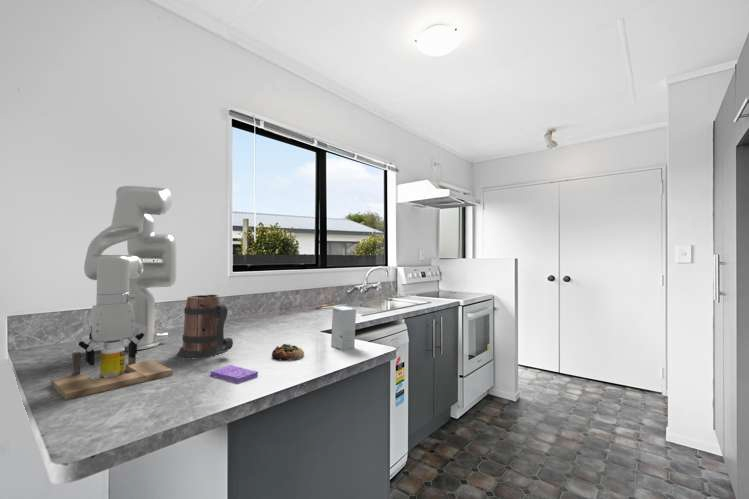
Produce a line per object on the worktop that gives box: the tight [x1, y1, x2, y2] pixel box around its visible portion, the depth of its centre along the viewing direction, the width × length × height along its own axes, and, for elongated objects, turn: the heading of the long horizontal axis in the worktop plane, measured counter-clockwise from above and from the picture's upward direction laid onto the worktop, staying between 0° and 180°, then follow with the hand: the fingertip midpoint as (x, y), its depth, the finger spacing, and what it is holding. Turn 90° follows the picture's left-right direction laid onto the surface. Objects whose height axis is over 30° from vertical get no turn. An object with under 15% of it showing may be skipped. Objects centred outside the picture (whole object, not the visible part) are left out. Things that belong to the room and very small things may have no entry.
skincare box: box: [330, 305, 357, 351], centre depth 139 cm, size 8×6×15 cm
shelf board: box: [50, 345, 174, 401], centre depth 102 cm, size 24×17×8 cm
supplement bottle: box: [99, 340, 126, 379], centre depth 104 cm, size 6×6×10 cm
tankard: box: [175, 294, 234, 360], centre depth 130 cm, size 24×17×20 cm
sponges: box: [209, 364, 259, 384], centre depth 106 cm, size 7×13×2 cm, turn 58°
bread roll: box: [271, 343, 305, 362], centre depth 126 cm, size 11×11×5 cm
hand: (112, 360), depth 103 cm, fingers open, 9 cm apart
